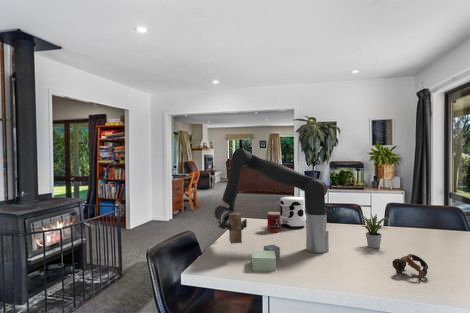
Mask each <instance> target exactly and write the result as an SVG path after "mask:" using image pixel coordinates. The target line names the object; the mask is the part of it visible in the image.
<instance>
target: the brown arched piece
mask: <svg viewBox="0 0 470 313" xmlns="http://www.w3.org/2000/svg"><path fill="white" fill-rule="evenodd" d="M391 262H392V267H393V269H394V270H395V272H396V273H399V274H402V273H403V270H404V271H405V268H406V267H407V265H408V266H410V268H412V269H414V270H415V271H417V272H418V275H417V276H416V277H417V279H418V280H422V279H423V278H424V277H426V276H427V275H428V270H429V265H428V264H427V262H426V261H425V260H424V259H422V258H421V257H420V256H418V255H415V254H413V253H409V254H407V255H405V256H401V258H394V259H393V260H392V261H391ZM416 262H419V264H420V265H419V264H417V263H416Z"/></svg>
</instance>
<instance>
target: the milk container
mask: <svg viewBox="0 0 470 313" xmlns="http://www.w3.org/2000/svg"><path fill="white" fill-rule="evenodd" d="M279 207H280V208H279V210H280V211H279V213H280V226H282V227H286V228H290V229H291V228H294V229H295V228H303V227H304V226H306V208H305V197H300V196H283V197H280V204H279Z"/></svg>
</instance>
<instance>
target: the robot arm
mask: <svg viewBox="0 0 470 313" xmlns="http://www.w3.org/2000/svg"><path fill="white" fill-rule="evenodd" d="M231 155H232V156H231V160H230V161H231V162H230V167H229V173H228V178H227V183H226V186H225V188H224V192H223V195H222V198H221V199H222V202H224V203H225V204H227V205H228V206H227V207H225V206H223V205H218V206H217V207H216V208H215V209H214V213H213V214H214V218H215V219H216V220H217V227H218V228H220V229H221V230H225V229H226V230H228V232H229V231H231V225H230V224H229V213H235V203H236V199H237V196H238V193H239V188H240V175H241V172H242V171H243V170H242V169H243V168H245V169H248V170H252V171H255V172H257V173H258V174H260V175H262V176H263V177H265V178H267V179H269V180H271V181H273V182H275V183H278V184H281V185H283V186H288V187H292V188H297V189H300V190H301V191H303V192H304V200H305V215H306V224H305V226H306V227H305V228H306V229H305V232H306V233H305V236H306V240H305V242H306V243H305V244H306V245H305V246H306V247H305V248H306V251H308V252H310V253H315V254H323V253H326V252H329V242H330V241H329V240H330V239H329V230H328V229H327V208H326V198H325V197H326V194H327V193H328V185H327V184H326V182H325V181H324V180H322V179H319V178H315V177H311V176H309V175H305V174H302V173H300V172H298V171H296V170H295V169H292V168H290V167H287V166H286V165H284V164H281V163H278V162H276V161H272V160H267V159H263V158H261V157H259V156H257V155H255V154H253V153H252V152H249V151H247V150H245V149H243V148H237V149H235V150H234V151H233V153H232V154H231ZM247 221H248V220H247V218H246V219H245V218H244V219H243V220H241V230H242V231H244V229H246V228H247V226H248V222H247Z"/></svg>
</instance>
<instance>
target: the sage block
mask: <svg viewBox="0 0 470 313" xmlns="http://www.w3.org/2000/svg"><path fill="white" fill-rule="evenodd" d="M251 258H252V263H251V264H252V271H265V272H267V271H272V272H273V271H274V272H276V271H277V260H276V257H275V251H264V250H254V249H253V250H252V257H251Z"/></svg>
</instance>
